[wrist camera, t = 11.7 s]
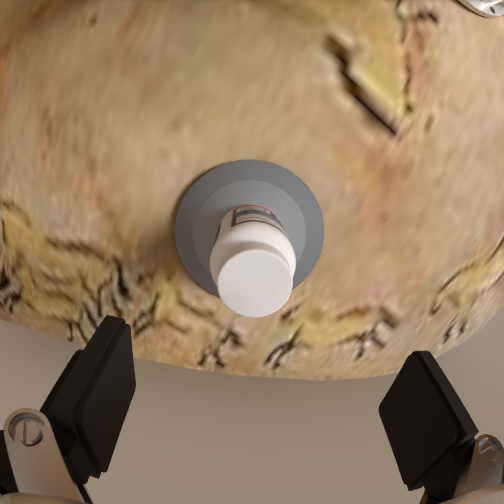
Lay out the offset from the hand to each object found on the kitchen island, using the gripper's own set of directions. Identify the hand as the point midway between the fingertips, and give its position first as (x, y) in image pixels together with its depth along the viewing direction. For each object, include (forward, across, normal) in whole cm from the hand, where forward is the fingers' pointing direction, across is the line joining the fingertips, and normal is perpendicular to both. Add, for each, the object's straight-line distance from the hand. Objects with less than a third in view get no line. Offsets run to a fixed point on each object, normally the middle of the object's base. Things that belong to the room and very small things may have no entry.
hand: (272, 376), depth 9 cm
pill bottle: (+16, 0, +1) cm, 16 cm away
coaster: (+17, +1, +1) cm, 17 cm away
